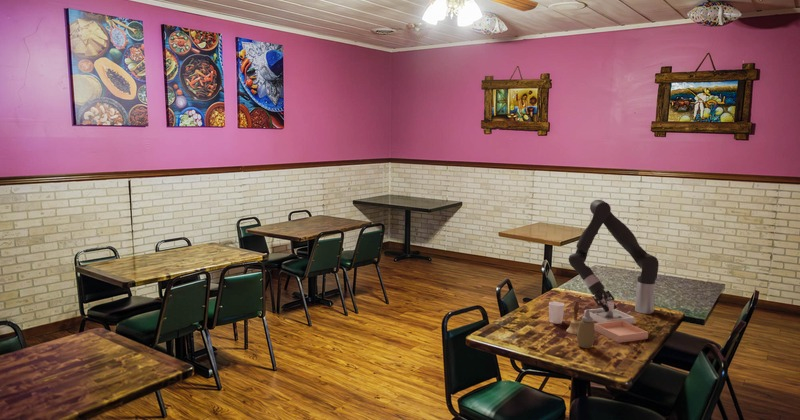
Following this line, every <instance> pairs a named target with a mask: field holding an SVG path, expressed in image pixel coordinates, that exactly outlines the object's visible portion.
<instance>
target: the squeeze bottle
mask: <svg viewBox="0 0 800 420" xmlns="http://www.w3.org/2000/svg"><path fill="white" fill-rule="evenodd" d="M585 310H586V313H585V316H584V315H581V320H579V328H578V333H577V334H576V340H577V344H578V346H579V348H580V347H581V348H583V349H591V348H592V347H593V345H594V342H595V340H596V339H595V331H594V324H595V322H594V321H593V320H592V317H591V316H590V312H589V310H590V309H585Z"/></svg>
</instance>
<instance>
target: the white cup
mask: <svg viewBox="0 0 800 420" xmlns="http://www.w3.org/2000/svg"><path fill="white" fill-rule="evenodd" d="M564 311H565V303H564V302H560V301H555V300H554V301H549V302H548V321H549V322H550V323H552V324H558V325H559V324H562V323H563V317H564Z"/></svg>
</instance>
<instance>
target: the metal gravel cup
mask: <svg viewBox="0 0 800 420" xmlns="http://www.w3.org/2000/svg"><path fill="white" fill-rule="evenodd" d="M611 299H612V298H611ZM611 299H607V300H606V301H605V304H606V306H607V307H608V308H609V311H608V312H605V317H607V318H613V313H614V303H615V300H611Z"/></svg>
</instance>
